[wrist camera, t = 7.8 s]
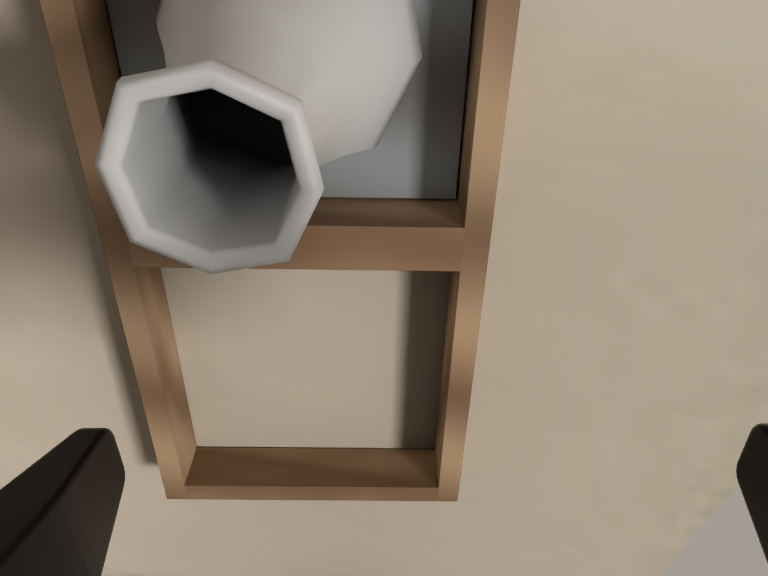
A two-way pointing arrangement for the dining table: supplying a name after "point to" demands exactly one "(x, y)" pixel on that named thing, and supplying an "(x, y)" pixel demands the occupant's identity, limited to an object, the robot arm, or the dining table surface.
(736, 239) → the dining table surface
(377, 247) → the caddy
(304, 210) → the flask
